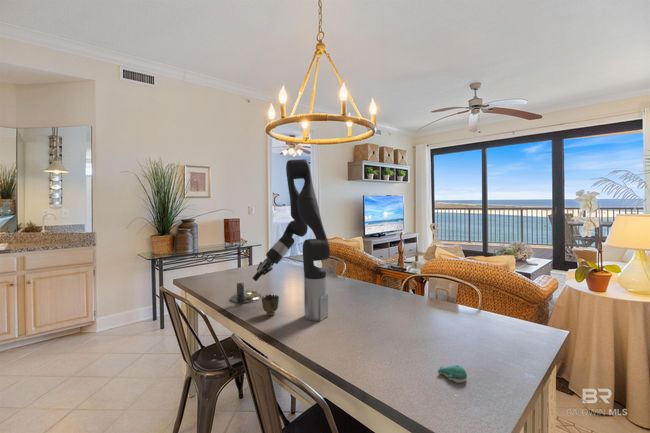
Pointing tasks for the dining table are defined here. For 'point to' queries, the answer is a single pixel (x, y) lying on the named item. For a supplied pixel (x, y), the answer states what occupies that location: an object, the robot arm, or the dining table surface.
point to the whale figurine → (454, 373)
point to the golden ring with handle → (240, 293)
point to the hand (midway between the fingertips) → (254, 279)
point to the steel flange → (247, 299)
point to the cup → (270, 304)
